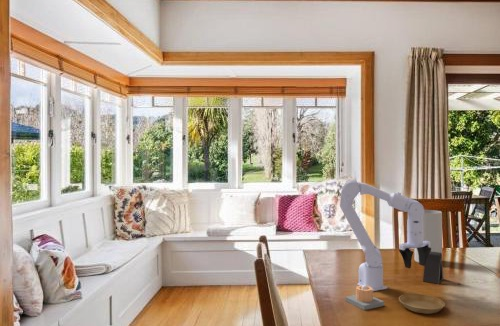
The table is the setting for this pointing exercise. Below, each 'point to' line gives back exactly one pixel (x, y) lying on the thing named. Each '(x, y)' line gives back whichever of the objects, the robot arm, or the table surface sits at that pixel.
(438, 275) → the phone stand
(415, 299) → the plant saucer
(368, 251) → the robot arm
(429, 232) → the cylinder vase
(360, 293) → the ring
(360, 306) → the post base
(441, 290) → the table surface
